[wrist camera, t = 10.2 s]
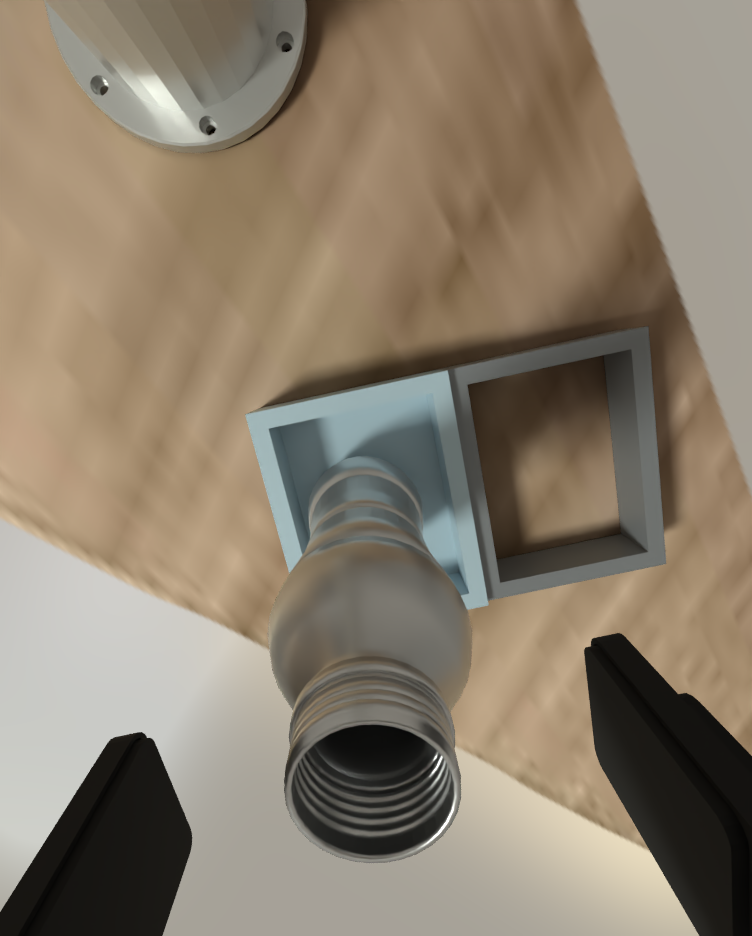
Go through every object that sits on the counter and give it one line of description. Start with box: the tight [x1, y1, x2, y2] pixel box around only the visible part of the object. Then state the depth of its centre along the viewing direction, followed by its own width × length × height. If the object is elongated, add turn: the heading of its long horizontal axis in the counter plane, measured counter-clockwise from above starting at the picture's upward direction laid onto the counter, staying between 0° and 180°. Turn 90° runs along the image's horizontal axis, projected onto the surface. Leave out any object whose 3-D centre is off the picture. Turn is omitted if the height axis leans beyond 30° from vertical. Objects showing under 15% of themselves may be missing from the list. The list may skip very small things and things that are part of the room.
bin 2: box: [438, 326, 666, 601], centre depth 28 cm, size 14×11×3 cm
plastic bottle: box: [268, 456, 472, 863], centre depth 19 cm, size 6×7×20 cm
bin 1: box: [245, 369, 488, 610], centre depth 28 cm, size 14×11×4 cm
